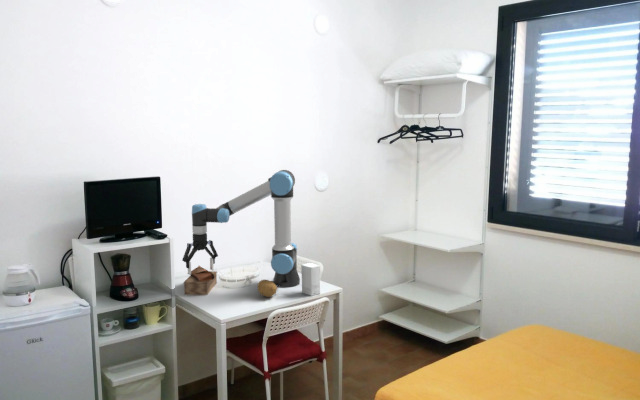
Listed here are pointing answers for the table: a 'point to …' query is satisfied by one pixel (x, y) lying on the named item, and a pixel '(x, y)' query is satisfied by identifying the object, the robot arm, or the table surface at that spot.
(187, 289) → the walnut box
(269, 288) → the potato
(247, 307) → the table surface
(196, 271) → the sunglasses case
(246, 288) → the table surface
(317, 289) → the skincare box
